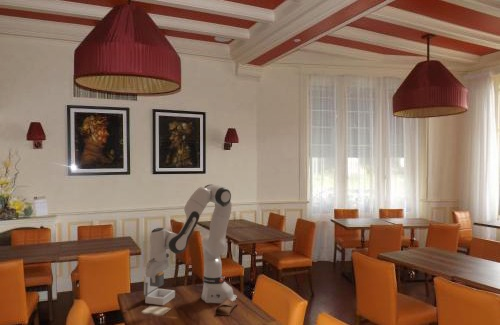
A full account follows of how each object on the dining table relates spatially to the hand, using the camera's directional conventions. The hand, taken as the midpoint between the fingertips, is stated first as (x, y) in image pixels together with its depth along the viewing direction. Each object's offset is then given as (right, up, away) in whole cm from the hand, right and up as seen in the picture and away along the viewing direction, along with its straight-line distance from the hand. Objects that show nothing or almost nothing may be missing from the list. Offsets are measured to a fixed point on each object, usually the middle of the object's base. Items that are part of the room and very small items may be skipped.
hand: (157, 280), depth 224 cm
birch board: (0, -18, 0) cm, 18 cm away
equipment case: (-2, -18, +16) cm, 24 cm away
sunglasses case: (+40, -19, +5) cm, 44 cm away
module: (0, -3, 0) cm, 3 cm away
